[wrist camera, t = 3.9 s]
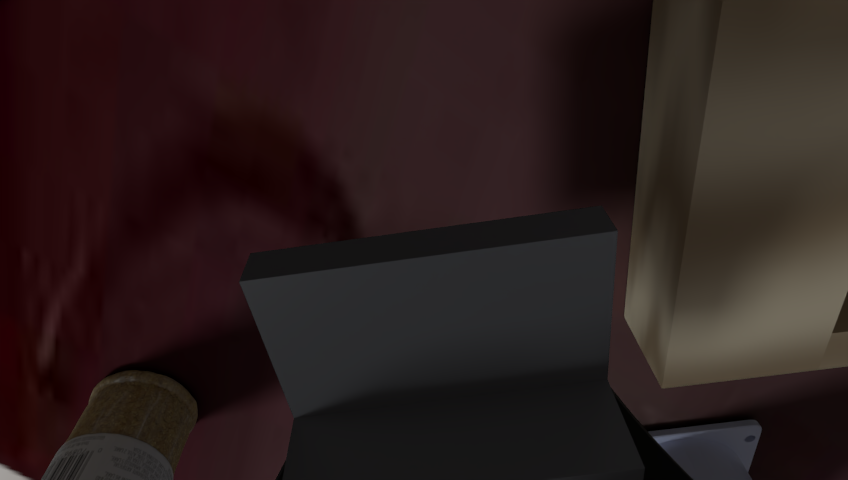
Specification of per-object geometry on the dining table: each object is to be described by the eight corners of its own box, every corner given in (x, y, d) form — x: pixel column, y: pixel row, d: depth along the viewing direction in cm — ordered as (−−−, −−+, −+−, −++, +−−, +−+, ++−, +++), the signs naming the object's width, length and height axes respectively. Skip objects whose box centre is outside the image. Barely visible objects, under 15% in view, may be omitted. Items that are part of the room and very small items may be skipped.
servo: (543, 480, 17) (619, 787, 11) (398, 497, 17) (398, 809, 11) (534, 100, 10) (707, 372, 5) (297, 134, 10) (177, 437, 5)
